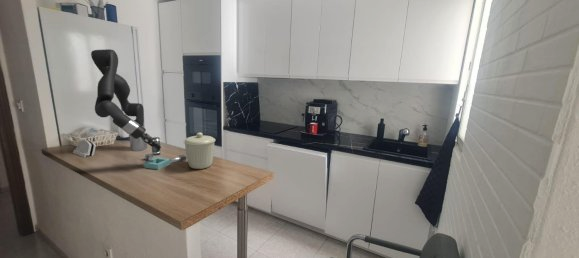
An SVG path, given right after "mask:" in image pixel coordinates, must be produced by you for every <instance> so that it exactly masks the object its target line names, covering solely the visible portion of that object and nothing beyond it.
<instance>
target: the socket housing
mask: <svg viewBox="0 0 579 258" xmlns="http://www.w3.org/2000/svg"><path fill="white" fill-rule="evenodd" d="M153 158H154V159H151V160H146V161H144V162H143V168H146V169H152V170H158V171H159V170H160V169H162V168H165V167H167V166H169V165H171V164H172V163H170V159H171V158H164V157H157V156H155V157H153Z"/></svg>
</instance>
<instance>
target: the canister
mask: <svg viewBox="0 0 579 258" xmlns="http://www.w3.org/2000/svg"><path fill="white" fill-rule="evenodd" d="M215 142H216V138H215V137H213V136H210V135H205V134H203V132H197V133H196V135H193V136H189V137H186V138H185V139H183V144H184V146H185V154H186V158H187V159H186V160H187V163H188V166H189V167H190V168H192V169H194V170H195V169H197V170H202V169H207V168H209V167H211V166H212V164H213V160H214V151H215V150H214V149H215Z"/></svg>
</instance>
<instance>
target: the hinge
mask: <svg viewBox="0 0 579 258" xmlns="http://www.w3.org/2000/svg"><path fill="white" fill-rule="evenodd" d="M96 147H97V146H96V144H95V143H94V141H91V140H87V139H85V140H82V139H81V140H79V141H78V142H77V145H76V148H75V149H74V150H73V151H72V153H73V154H74V155H77V156H80V157H82V158H86V156H92V157H94V156H95V151H96ZM93 155H94V156H93Z"/></svg>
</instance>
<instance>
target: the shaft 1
mask: <svg viewBox="0 0 579 258" xmlns="http://www.w3.org/2000/svg"><path fill="white" fill-rule="evenodd" d="M154 158H155V157H154V155H152V153H147V154H144V159H145V160H146V161H149V160H151V159H154Z"/></svg>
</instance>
